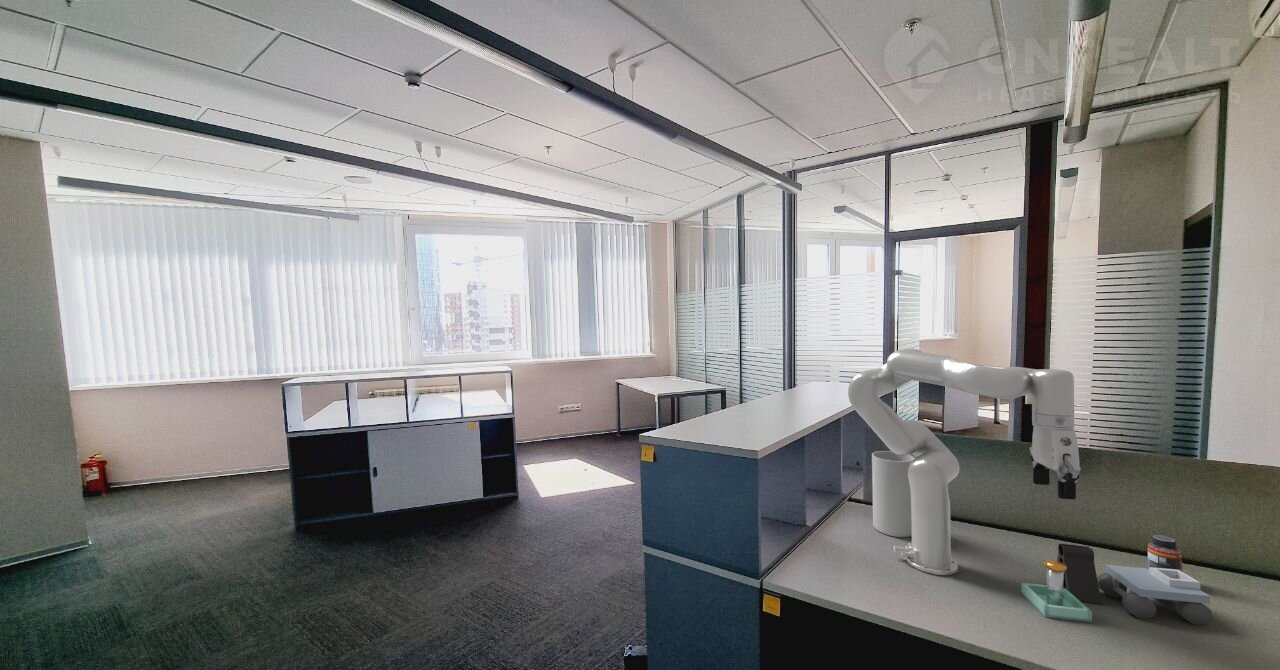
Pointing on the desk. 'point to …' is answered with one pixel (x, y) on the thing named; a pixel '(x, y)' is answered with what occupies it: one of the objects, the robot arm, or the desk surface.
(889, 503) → the cylinder vase
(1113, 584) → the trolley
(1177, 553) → the supplement bottle
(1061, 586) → the pin
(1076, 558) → the phone stand
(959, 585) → the desk surface
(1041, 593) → the tray
